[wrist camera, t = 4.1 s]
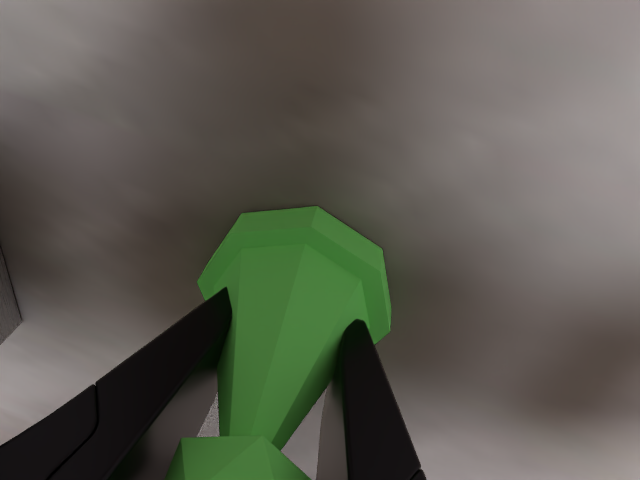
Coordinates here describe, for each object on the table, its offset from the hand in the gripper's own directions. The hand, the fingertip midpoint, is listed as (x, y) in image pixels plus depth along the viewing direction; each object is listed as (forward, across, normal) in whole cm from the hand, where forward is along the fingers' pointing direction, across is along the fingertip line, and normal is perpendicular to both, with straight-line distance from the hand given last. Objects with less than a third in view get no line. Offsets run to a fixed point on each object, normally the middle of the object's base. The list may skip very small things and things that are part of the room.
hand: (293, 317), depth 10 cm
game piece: (+1, 0, 0) cm, 1 cm away
